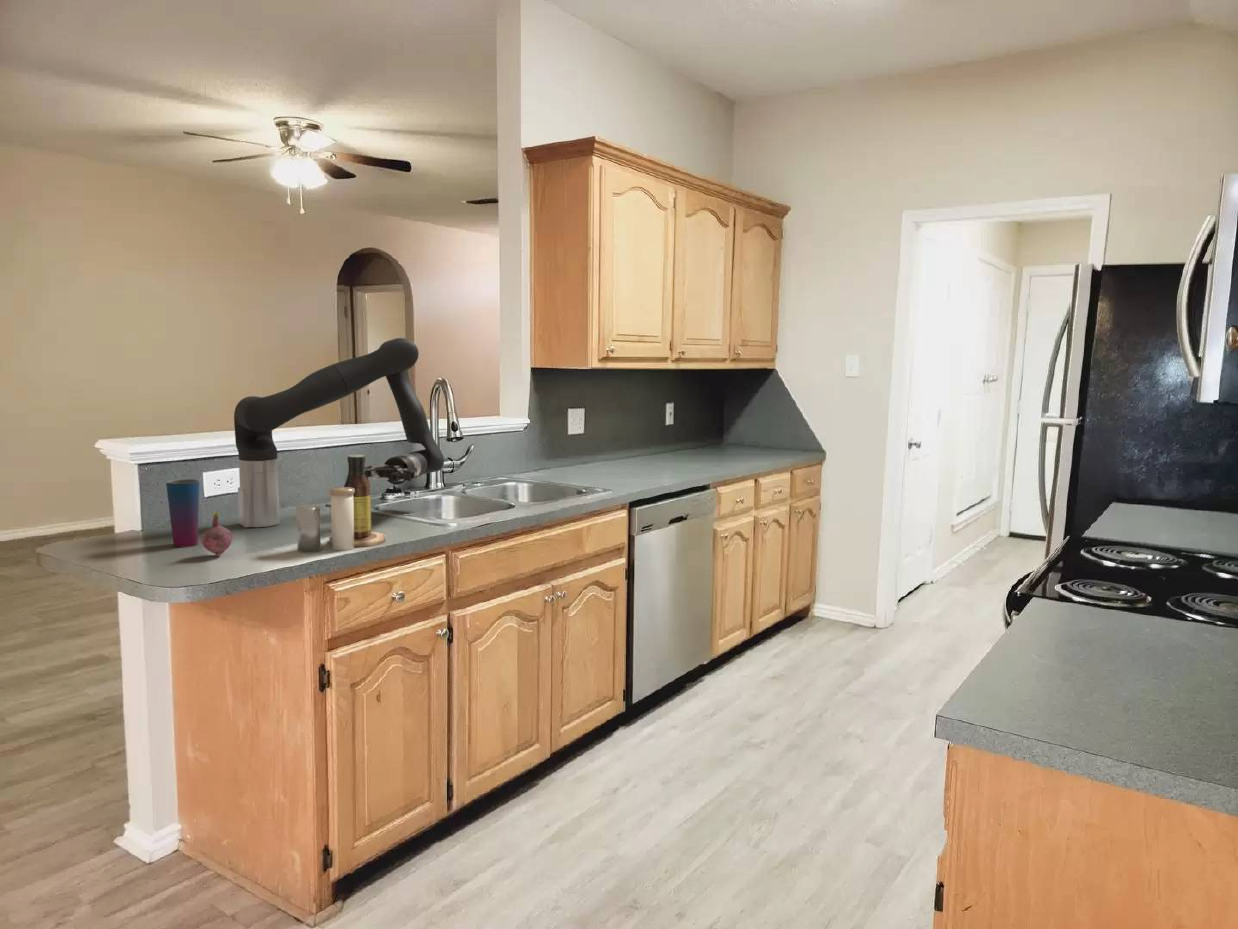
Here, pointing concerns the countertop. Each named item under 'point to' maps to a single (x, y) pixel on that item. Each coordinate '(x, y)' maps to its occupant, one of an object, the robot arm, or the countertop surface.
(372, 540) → the oak coaster
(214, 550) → the vegetable
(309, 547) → the spice tin
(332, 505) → the cream jar
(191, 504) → the cup
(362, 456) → the sauce bottle
